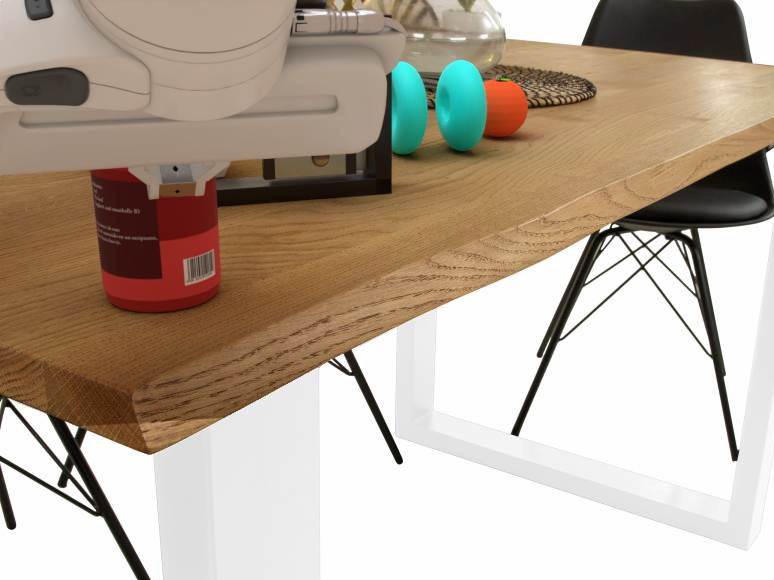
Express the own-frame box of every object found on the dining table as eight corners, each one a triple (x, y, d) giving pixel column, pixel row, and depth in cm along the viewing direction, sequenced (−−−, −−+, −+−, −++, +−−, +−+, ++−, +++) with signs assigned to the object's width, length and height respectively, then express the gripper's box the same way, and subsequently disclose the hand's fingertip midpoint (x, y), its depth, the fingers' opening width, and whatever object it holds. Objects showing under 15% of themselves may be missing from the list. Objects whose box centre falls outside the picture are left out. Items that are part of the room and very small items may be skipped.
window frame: (150, 211, 87) (133, 17, 81) (145, 200, 90) (129, 13, 85) (391, 193, 95) (392, 14, 89) (378, 183, 98) (378, 11, 93)
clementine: (487, 127, 127) (489, 70, 125) (538, 133, 124) (541, 75, 122) (460, 138, 120) (461, 78, 118) (513, 144, 118) (516, 82, 115)
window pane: (274, 191, 87) (268, 38, 82) (262, 178, 91) (256, 32, 87) (370, 184, 90) (369, 36, 85) (354, 172, 94) (352, 31, 90)
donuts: (375, 145, 115) (375, 56, 112) (457, 141, 119) (459, 54, 115) (401, 163, 107) (402, 67, 103) (489, 158, 110) (492, 65, 106)
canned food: (224, 272, 72) (215, 118, 68) (219, 311, 65) (209, 142, 61) (112, 276, 71) (97, 119, 67) (95, 317, 63) (76, 143, 60)
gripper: (399, -41, 48) (346, 128, 60) (-80, -44, 41) (-33, 149, 52) (432, 67, 45) (369, 220, 57) (-71, 83, 38) (-24, 255, 50)
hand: (174, 186), depth 55 cm, fingers closed
